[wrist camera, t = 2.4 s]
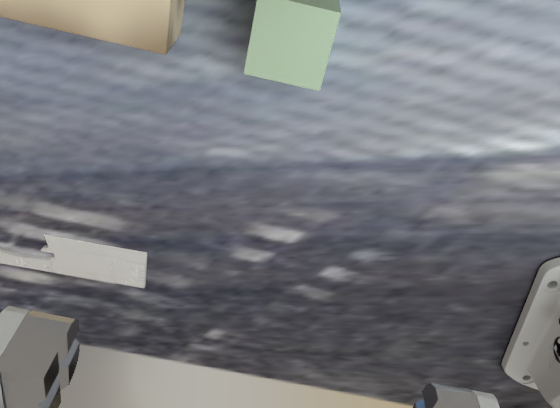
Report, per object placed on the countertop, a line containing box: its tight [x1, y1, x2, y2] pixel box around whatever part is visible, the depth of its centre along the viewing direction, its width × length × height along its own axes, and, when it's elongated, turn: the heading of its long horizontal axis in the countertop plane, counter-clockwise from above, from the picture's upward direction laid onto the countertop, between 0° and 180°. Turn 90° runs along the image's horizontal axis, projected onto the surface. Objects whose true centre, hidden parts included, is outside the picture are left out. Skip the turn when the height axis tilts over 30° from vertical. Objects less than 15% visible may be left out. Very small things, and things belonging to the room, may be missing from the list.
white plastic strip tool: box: [0, 234, 147, 288], centre depth 49 cm, size 5×15×1 cm, turn 79°
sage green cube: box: [244, 0, 341, 91], centre depth 34 cm, size 5×5×5 cm
